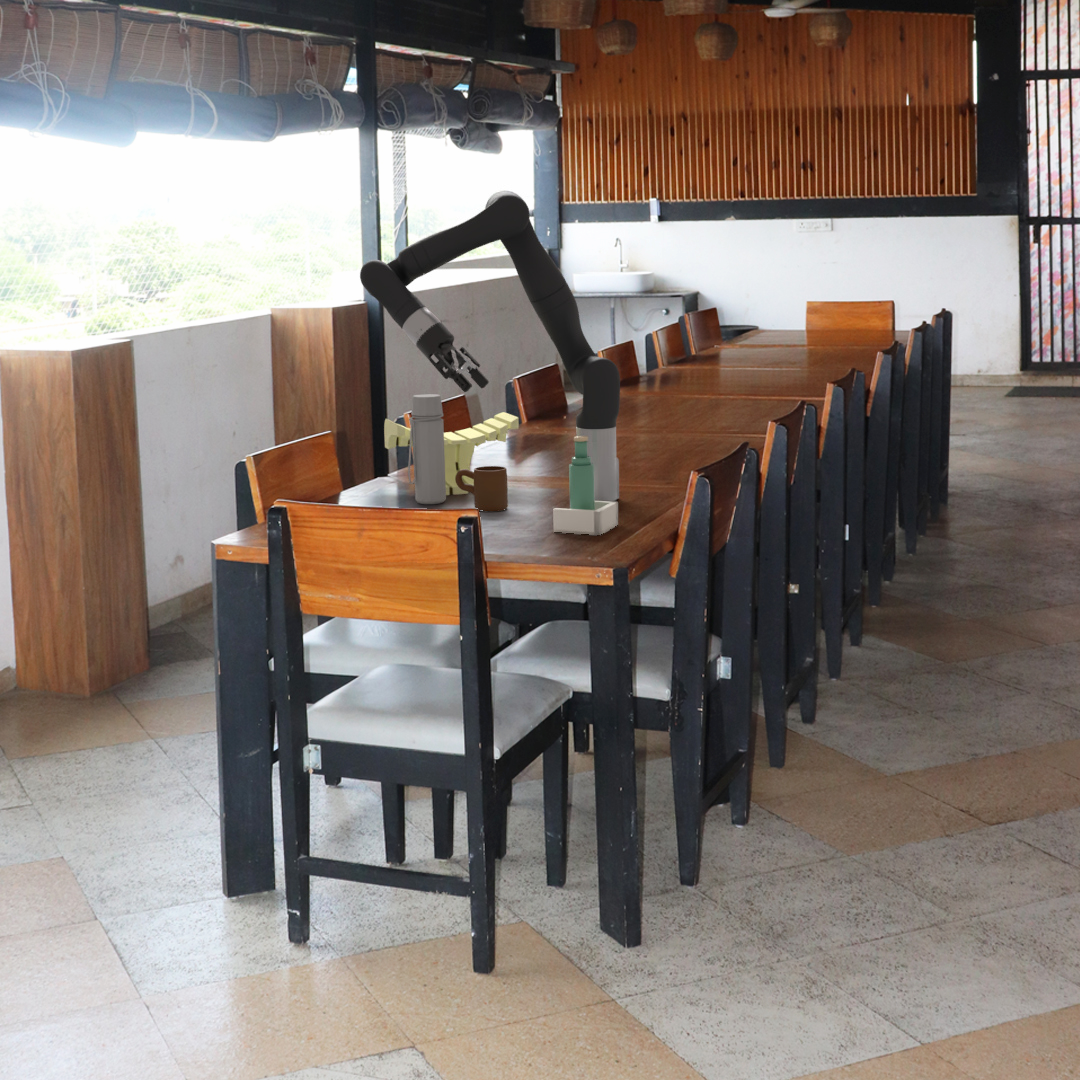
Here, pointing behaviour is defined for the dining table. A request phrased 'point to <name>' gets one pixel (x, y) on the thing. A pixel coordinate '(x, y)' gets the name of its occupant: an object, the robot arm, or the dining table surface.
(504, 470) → the mug
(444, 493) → the water bottle
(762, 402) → the dining table surface
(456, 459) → the slatted curved stool
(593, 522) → the holder
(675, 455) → the dining table surface
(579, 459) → the green bottle
